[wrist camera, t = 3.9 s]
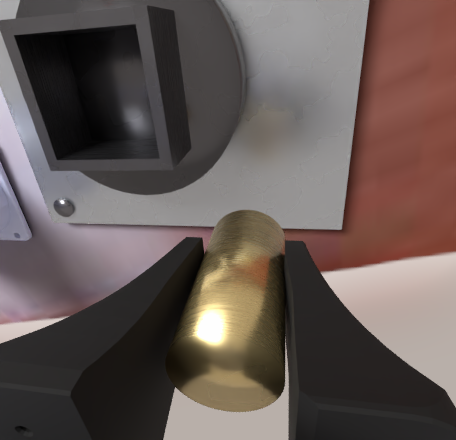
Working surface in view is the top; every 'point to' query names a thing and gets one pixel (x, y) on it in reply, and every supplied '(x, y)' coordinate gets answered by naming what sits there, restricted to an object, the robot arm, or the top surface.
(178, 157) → the square socket hub
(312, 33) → the flange plate
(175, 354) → the pin
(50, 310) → the top surface
